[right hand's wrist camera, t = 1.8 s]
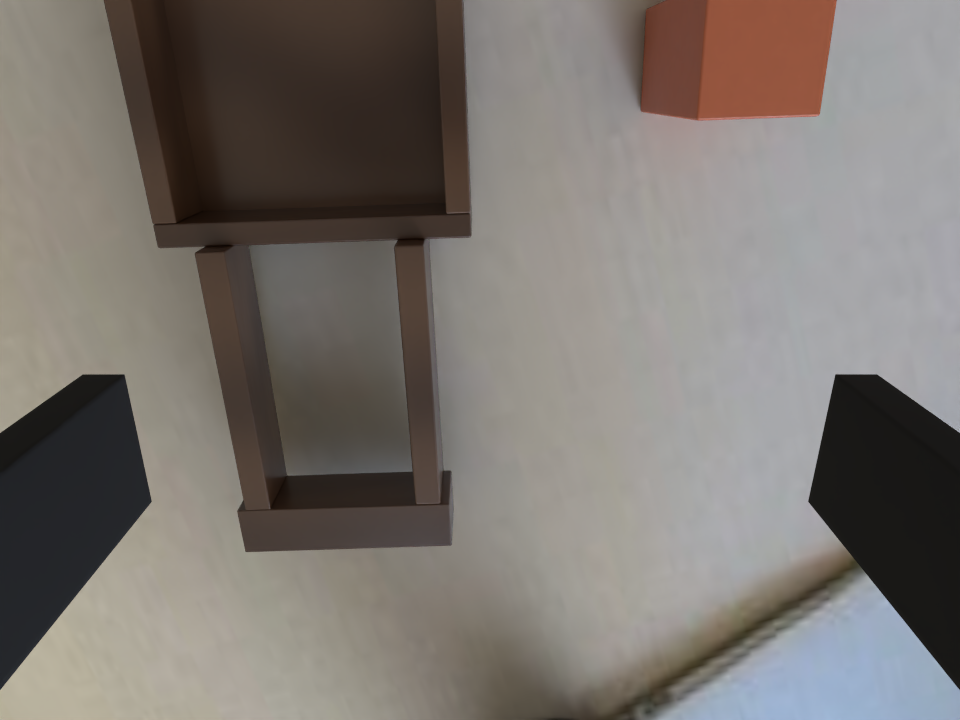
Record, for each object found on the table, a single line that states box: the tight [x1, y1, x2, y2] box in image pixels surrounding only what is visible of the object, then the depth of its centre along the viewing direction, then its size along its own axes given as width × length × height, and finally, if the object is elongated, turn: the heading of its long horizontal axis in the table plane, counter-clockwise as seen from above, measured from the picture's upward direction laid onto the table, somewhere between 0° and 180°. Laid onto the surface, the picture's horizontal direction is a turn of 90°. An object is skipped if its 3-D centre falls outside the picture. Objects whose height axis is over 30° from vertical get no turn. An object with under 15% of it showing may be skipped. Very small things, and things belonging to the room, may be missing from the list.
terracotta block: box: [641, 0, 837, 120], centre depth 25 cm, size 4×4×8 cm
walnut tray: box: [104, 0, 472, 552], centre depth 29 cm, size 28×13×4 cm, turn 2°
